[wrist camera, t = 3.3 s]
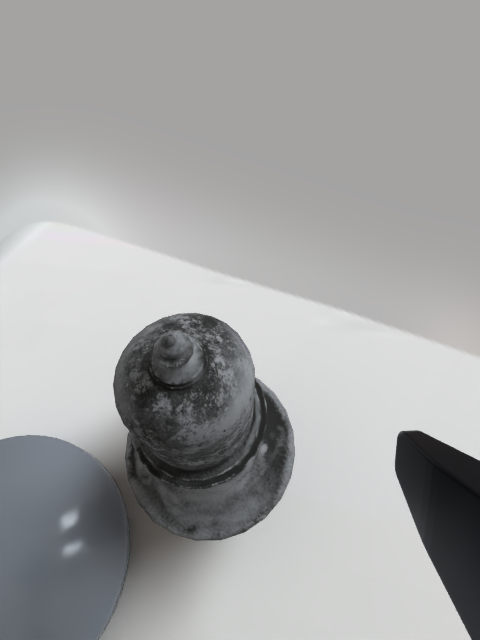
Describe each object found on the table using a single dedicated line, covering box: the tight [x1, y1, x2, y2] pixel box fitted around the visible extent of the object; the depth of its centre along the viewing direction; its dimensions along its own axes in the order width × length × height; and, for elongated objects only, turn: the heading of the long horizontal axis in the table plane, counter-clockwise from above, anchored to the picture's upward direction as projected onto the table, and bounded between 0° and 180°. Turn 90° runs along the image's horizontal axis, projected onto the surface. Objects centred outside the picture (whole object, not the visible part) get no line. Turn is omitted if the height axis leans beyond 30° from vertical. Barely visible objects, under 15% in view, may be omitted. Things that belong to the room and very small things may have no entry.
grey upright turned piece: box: [113, 313, 295, 541], centre depth 12 cm, size 6×6×12 cm
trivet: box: [0, 435, 130, 640], centre depth 15 cm, size 9×9×1 cm
